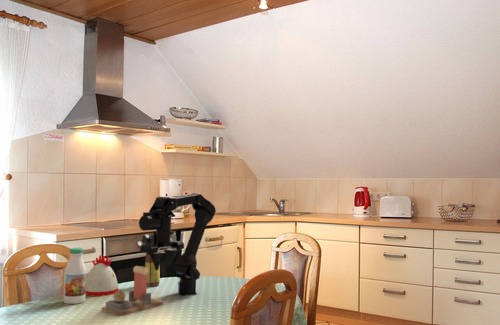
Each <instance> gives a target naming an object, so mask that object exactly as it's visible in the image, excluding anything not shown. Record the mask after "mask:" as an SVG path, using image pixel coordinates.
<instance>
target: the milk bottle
mask: <svg viewBox="0 0 500 325" xmlns="http://www.w3.org/2000/svg"><path fill="white" fill-rule="evenodd" d="M83 252H84V249H83V248H82V247H72V248H70V250H69V255H70V257H69V260H68V262H67V264H66V266H65V270H64V276H63V278H64V279H63V281H64V282H63V297H62V298H63V300H62V301H63V303H65V304H67V305H68V304H69V305H77V304H81V303H85V301H86V295H85V292H86V276H87V267H86V265H85V262H84V259H83V254H84V253H83Z"/></svg>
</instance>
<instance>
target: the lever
mask: <svg viewBox="0 0 500 325" xmlns="http://www.w3.org/2000/svg"><path fill="white" fill-rule="evenodd" d="M132 271H133V273H134V278H133V290H134V299H136V300H140V301H143V294H146V293H147V287H148V286H147V274H148V271H149V270H148V268H146V267H145V266H140V265H135V266H134V267H133V270H132Z"/></svg>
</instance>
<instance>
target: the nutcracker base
mask: <svg viewBox="0 0 500 325" xmlns="http://www.w3.org/2000/svg"><path fill="white" fill-rule="evenodd" d="M162 305H164V301H163V300H159V299H155V298H152V292H146V294H143V301H140V300H136V299H134V289H133V290H129V291H128V300H126V299H124V300H123V301H122V302H116V301H115V300H114V299H112V300H108V301H105V306H102V307H101V312H104V313H108V314H111V315H114V316H116V317H117V316H118V317H123V316H126V315H130V314H134V313H136V312H137V313H138V312H141V311H144V310H149V309H151V308H156V307H160V306H162Z"/></svg>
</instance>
